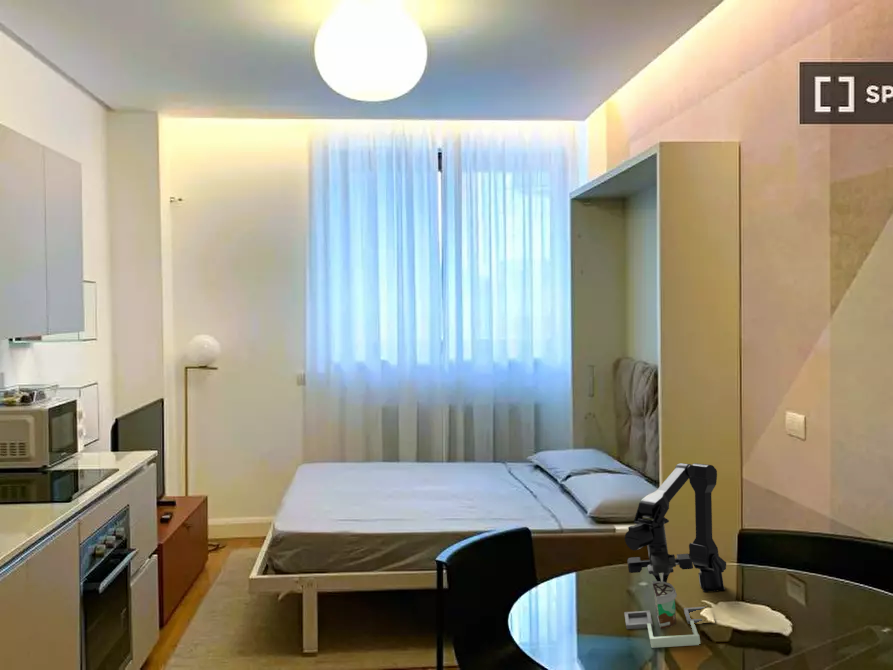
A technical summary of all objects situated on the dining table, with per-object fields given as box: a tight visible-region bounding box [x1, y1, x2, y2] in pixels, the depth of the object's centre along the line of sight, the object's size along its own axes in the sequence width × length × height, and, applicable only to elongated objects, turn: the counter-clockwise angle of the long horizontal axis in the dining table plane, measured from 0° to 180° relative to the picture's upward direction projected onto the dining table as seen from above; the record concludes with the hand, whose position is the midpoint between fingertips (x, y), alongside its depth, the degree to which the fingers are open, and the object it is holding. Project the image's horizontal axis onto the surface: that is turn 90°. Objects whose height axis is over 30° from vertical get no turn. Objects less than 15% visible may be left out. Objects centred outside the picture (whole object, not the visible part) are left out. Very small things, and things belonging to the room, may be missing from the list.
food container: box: [651, 580, 678, 630], centre depth 220 cm, size 12×6×10 cm, turn 171°
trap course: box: [623, 606, 706, 649], centre depth 215 cm, size 25×22×2 cm
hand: (663, 590), depth 227 cm, fingers closed
